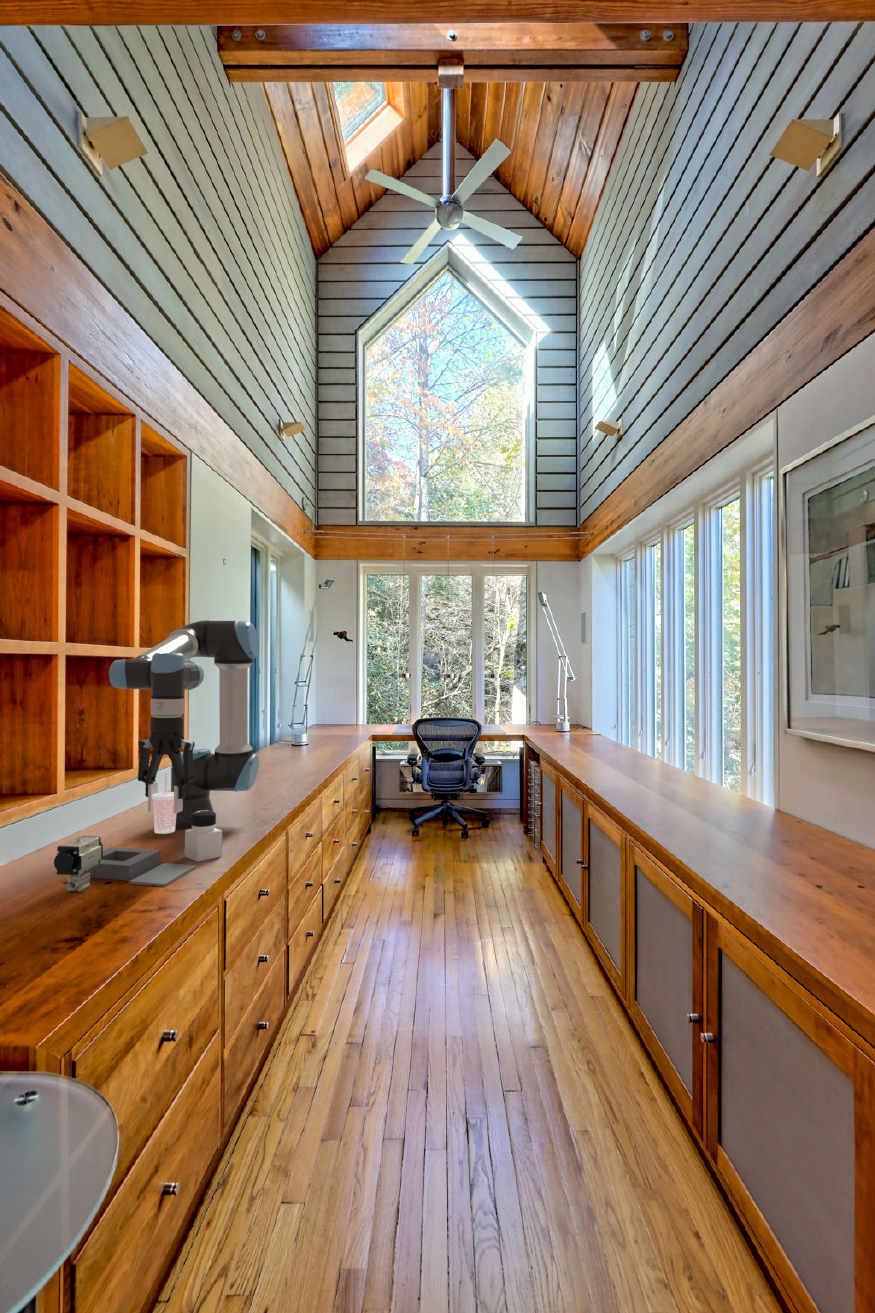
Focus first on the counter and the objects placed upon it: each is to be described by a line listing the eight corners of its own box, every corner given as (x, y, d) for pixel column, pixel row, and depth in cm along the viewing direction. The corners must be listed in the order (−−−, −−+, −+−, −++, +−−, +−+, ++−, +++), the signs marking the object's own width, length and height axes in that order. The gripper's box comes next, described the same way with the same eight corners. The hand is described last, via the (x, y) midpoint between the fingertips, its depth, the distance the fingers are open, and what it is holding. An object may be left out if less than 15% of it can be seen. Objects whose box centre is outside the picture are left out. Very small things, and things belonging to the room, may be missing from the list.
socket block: (110, 860, 173) (110, 846, 173) (160, 864, 171) (160, 850, 171) (75, 876, 160) (76, 861, 160) (128, 880, 158) (129, 865, 158)
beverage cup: (151, 835, 158) (152, 776, 158) (151, 829, 163) (152, 772, 163) (178, 833, 160) (179, 775, 160) (177, 827, 166) (178, 771, 166)
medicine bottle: (222, 857, 178) (223, 812, 178) (197, 862, 172) (197, 816, 172) (209, 851, 182) (209, 807, 183) (184, 856, 177) (184, 811, 177)
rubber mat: (163, 865, 170) (163, 863, 170) (196, 867, 168) (196, 865, 168) (129, 883, 156) (129, 881, 156) (165, 886, 154) (165, 884, 154)
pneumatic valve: (52, 898, 146) (53, 843, 146) (84, 880, 158) (85, 829, 158) (76, 899, 145) (77, 844, 146) (106, 881, 157) (107, 830, 157)
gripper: (121, 716, 160) (119, 812, 160) (195, 718, 157) (193, 817, 157) (140, 713, 167) (138, 806, 167) (211, 716, 164) (209, 810, 164)
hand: (165, 811), depth 162 cm, fingers closed on beverage cup, 6 cm apart
